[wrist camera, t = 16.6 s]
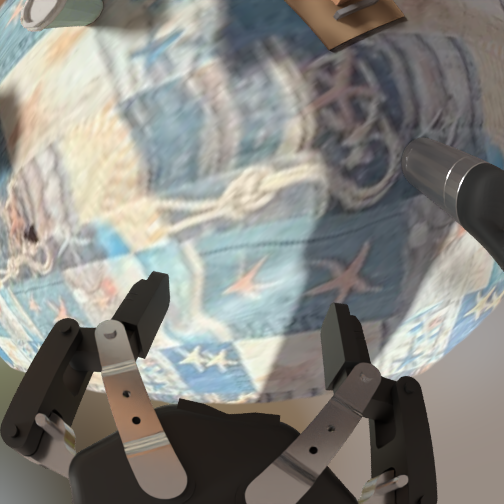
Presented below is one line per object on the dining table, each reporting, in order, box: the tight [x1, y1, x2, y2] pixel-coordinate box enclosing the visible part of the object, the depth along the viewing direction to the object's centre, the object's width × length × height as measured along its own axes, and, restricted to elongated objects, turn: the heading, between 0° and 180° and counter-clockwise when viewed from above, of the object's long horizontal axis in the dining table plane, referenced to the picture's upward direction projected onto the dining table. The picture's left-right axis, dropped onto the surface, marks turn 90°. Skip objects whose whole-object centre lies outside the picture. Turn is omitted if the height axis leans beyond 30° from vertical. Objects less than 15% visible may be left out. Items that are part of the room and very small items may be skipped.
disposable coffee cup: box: [20, 0, 103, 32], centre depth 20 cm, size 11×11×15 cm
